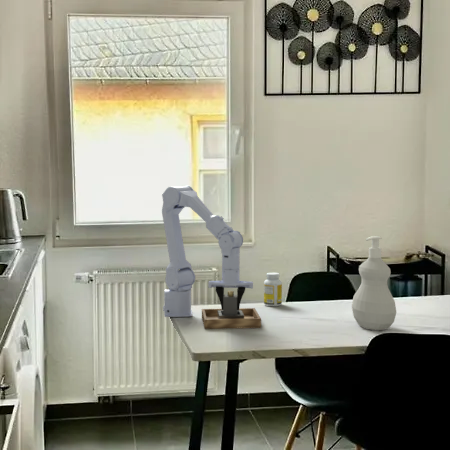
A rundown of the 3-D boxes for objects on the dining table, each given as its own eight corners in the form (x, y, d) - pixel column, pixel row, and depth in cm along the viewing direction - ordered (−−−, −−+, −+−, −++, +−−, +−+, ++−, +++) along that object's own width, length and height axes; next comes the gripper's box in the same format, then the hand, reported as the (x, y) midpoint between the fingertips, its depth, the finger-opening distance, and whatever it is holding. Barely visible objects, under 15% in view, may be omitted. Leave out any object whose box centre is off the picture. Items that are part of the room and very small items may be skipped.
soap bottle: (342, 324, 257) (344, 234, 254) (369, 320, 263) (371, 232, 260) (376, 335, 243) (379, 240, 240) (405, 331, 249) (407, 238, 246)
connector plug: (223, 318, 257) (223, 292, 256) (224, 315, 261) (224, 289, 261) (236, 318, 257) (237, 292, 256) (237, 315, 261) (237, 290, 260)
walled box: (204, 328, 250) (204, 319, 250) (201, 317, 266) (201, 308, 266) (260, 328, 252) (261, 318, 252) (254, 316, 268) (254, 308, 267)
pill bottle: (281, 303, 290) (282, 272, 289) (281, 307, 284) (281, 275, 283) (264, 302, 291) (264, 271, 290) (263, 306, 284) (263, 274, 283)
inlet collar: (219, 323, 255) (219, 315, 254) (217, 317, 263) (217, 310, 262) (244, 322, 255) (244, 315, 255) (241, 317, 263) (241, 310, 263)
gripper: (253, 266, 261) (253, 307, 262) (209, 266, 262) (209, 306, 263) (252, 270, 254) (252, 311, 255) (207, 269, 255) (207, 311, 256)
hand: (230, 309), depth 259 cm, fingers closed on connector plug, 4 cm apart
